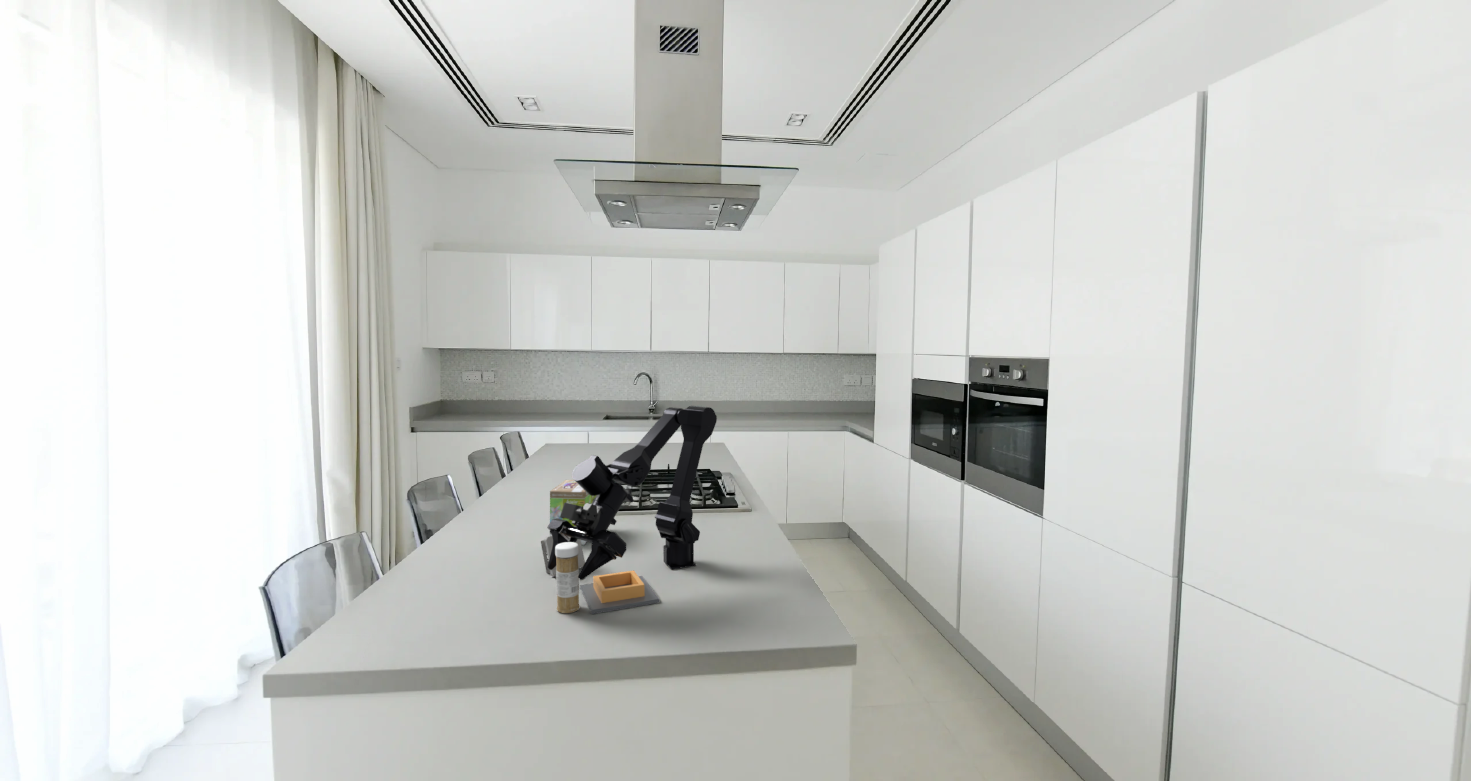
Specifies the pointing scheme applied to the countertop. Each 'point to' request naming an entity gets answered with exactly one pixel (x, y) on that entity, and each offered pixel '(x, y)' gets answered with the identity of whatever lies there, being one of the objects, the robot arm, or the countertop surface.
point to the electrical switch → (547, 549)
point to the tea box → (568, 499)
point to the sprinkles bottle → (567, 577)
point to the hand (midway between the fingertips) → (564, 573)
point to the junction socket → (617, 592)
